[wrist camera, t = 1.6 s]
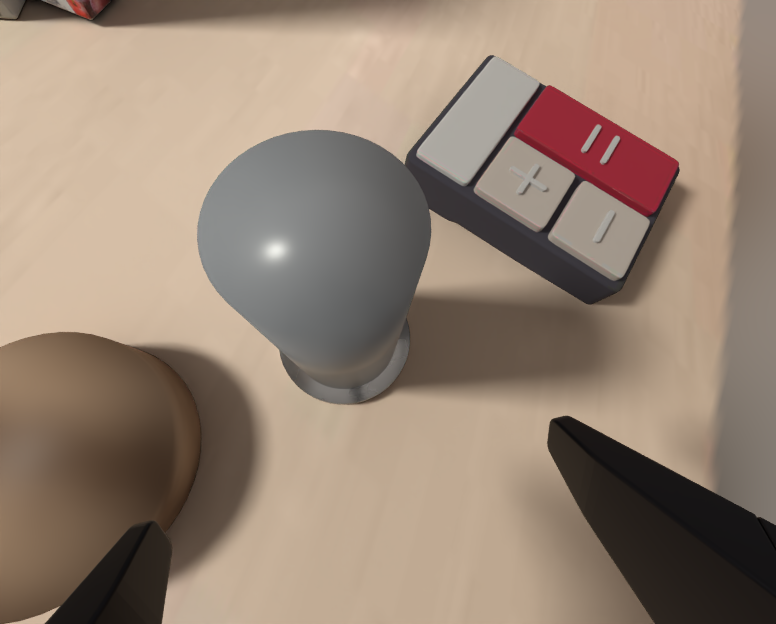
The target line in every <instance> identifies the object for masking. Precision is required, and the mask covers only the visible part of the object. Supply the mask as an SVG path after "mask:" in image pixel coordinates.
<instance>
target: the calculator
mask: <svg viewBox="0 0 776 624" xmlns="http://www.w3.org/2000/svg"><path fill="white" fill-rule="evenodd" d="M405 166H406V167H407V168H408V169H409V171H410V172H411V173H412V174H413V176H414V177H415V179H416V180H417V182H418V183H419V185H420V187H421V189H422V191H423V193H424V195H425V198H426V201H427V204H428V208H429V209H430V210H432V211H434V212H435V213H437V214H439V215H440V216H442V217H444V218H445V219H447V220H449V221H453V222H456V223H458V224H459V225H461V226H462V227H464V228H466V229H467V230H469V231H470V232H472V233H473V234H475V235H476V236H478V237H479V238H481V239H483V240H484V241H486V242H487V243H489V244H490V245H492V246H493V247H495V248H497V249H498V250H500V251H501V252H503V253H504V254H506V255H507V256H509V257H511V258H512V259H514V260H515V261H517V262H518V263H520V264H522V265H523V266H525V267H527V268H528V269H530V270H532V271H533V272H535V273H536V274H538V275H540V276H541V277H543V278H545V279H546V280H548V281H550V282H551V283H553V284H555V285H556V286H558V287H560V288H561V289H563V290H565V291H566V292H568V293H570V294H571V295H573V296H574V297H576V298H578V299H579V300H581V301H583V302H585V303H586V304H593V303H595V302H598V301H600V300H602V299H604V298H606V297H608V296H610V295H613V294H615V293H617V292H618V291H620V290H621V289H622V287H623V285H624V283H625V281H626V279H627V277H628V275H629V273H630V271H631V269H632V267H633V265H634V263H635V261H636V259H637V257H638V255H639V253H640V251H641V249H642V247H643V245H644V243H645V241H646V239H647V237H648V235H649V233H650V231H651V229H652V226H653V224H654V222H655V220H656V218H657V216H658V214H659V212H660V210H661V208H662V206H663V204H664V202H665V200H666V198H667V196H668V194H669V192H670V190H671V188H672V186H673V184H674V182H675V180H676V178H677V176H678V174H679V171H680V169H679V167H678V166H679V162H678V161H676V160H675V159H674V158H672V157H670V156H669V155H667V154H665V153H664V152H662V151H660V150H659V149H657V148H655V147H654V146H652V145H650V144H649V143H647V142H645V141H643V140H642V139H640V138H638V137H637V136H635V135H633V134H632V133H630V132H628V131H627V130H625V129H623V128H622V127H620V126H618V125H617V124H615V123H613V122H612V121H610V120H608V119H607V118H605V117H603V116H602V115H600V114H598V113H597V112H595V111H593V110H591V109H590V108H588V107H586V106H585V105H583V104H581V103H580V102H578V101H576V100H575V99H573V98H571V97H570V96H568V95H566V94H565V93H563V92H561V91H560V90H558V89H556V88H554V87H552V86H550V85H549V86H547V87H546V86H545V85H543V84H541V83H539V82H538V81H537V80H536V79H534V78H532V77H531V76H529V75H527V74H526V73H524V72H522V71H521V70H519V69H517V68H516V67H514V66H512V65H511V64H509V63H507V62H506V61H504V60H502V59H501V58H499V57H496V56H493V55H490V56H488V57H487V58H486V59H485V60H484V61H483V63H482V64H481V65H480V66H479V67H478V69H477V70H476V71H475V72H474V73H473V75H472V76H471V77H470V78H469V80H468V81H467V82H466V83H465V84H464V86H463V87H462V88H461V89H460V90H459V92H458V93H457V94H456V95H455V96H454V98H453V99H452V100H451V101H450V103H449V104H448V105H447V106H446V107H445V109H444V110H443V111H442V112H441V113H440V115H439V116H438V117H437V118H436V120H435V121H434V122H433V123H432V124H431V126H430V127H429V128H428V129H427V130H426V132H425V133H424V134H423V135H422V137H421V138H420V139H419V140H418V141H417V143H416V144H415V145H414V146H413V147H412V149H411V150H410V151H409V152H408V154H407V157H406V161H405Z"/></svg>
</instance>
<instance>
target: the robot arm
mask: <svg viewBox="0 0 776 624" xmlns="http://www.w3.org/2000/svg"><path fill="white" fill-rule="evenodd" d="M547 444H548V449H549V452H550V454H551V456H552V458H553V460H554V462H555V463H556V465H557V467H558V469H559V471H560V473H561V475H562V477H563V478H564V480H565V482H566V484H567V486H568V488H569V490H570V492H571V493H572V495H573V497H574V499H575V501H576V503H577V505H578V506H579V508H580V510H581V512H582V514H583V515H584V517H585V518H586V520H587V522H588V523H589V525H590V526H591V528H592V529H593V531H594V532H595V534H596V535H597V537H598V538H599V540H600V541H601V543H602V544H603V546H604V547H605V549H606V550H607V552H608V553H609V555H610V557H611V558H612V560H613V561H614V563H615V564H616V566H617V567H618V569H619V570H620V572H621V573H622V575H623V576H624V578H625V579H626V581H627V582H628V584H629V585H630V587H631V588H632V590H633V591H634V593H635V594H636V596H637V597H638V599H639V600H640V602H641V603H642V605H643V606H644V608H645V609H646V611H647V612H648V614H649V615H650V617H651V618H652V620H653V622H654V623H655V624H776V525H774V524H772V523H770V522H768V521H767V520H765V519H763V518H761V517H756V516H755V514H753V513H751V512H749V511H747V510H745V509H744V508H742V507H740V506H738V505H736V504H734V503H732V502H731V501H728V500H727V499H725V498H723V497H721V496H719V495H717V494H715V493H714V492H712V491H710V490H708V489H706V488H704V487H702V486H700V485H699V484H697V483H695V482H693V481H691V480H689V479H687V478H685V477H683V476H682V475H680V474H678V473H676V472H674V471H672V470H670V469H668V468H667V467H665V466H663V465H661V464H659V463H657V462H655V461H653V460H651V459H650V458H648V457H646V456H644V455H642V454H640V453H638V452H636V451H635V450H633V449H631V448H629V447H627V446H625V445H623V444H621V443H619V442H618V441H616V440H614V439H612V438H610V437H608V436H606V435H604V434H603V433H601V432H599V431H597V430H595V429H593V428H591V427H589V426H587V425H586V424H584V423H582V422H580V421H578V420H576V419H574V418H572V417H570V416H562V417H558V418H554V419H552V420H551V421H550V425H549V433H548V441H547ZM171 555H172V545H171V542H170V540H169V538H168V537H167V535H166V534H165V532H164V531H163V530H162V528H161V527H160V525H159V524H158V523H157V522H156V521H154V520H149V521H145V522H141V523H137V524H135V525H133V526H131V527H130V528H129V529H128V530H127V531H126V532H125V533H124V534H123V535H122V537H121V538H120V539H119V540H118V541H117V542H116V543H115V545H114V546H113V547H112V548H111V549H110V550H109V551H108V553H107V554H106V555H105V556H104V557H103V558H102V559H101V561H100V562H99V563H98V564H97V565H96V566H95V567H94V568H93V570H92V571H91V572H90V573H89V574H88V575H87V576H86V578H85V579H84V580H83V581H82V582H81V583H80V584H79V586H78V587H77V588H76V589H75V590H74V591H73V592H72V593H71V595H70V596H69V597H68V598H67V599H66V600H65V601H64V603H63V604H62V605H61V606H60V607H59V608H58V609H57V611H56V612H55V613H54V614H53V615H52V616H51V617H50V618H49V620H48V621H47V622H46V623H45V624H162V618H163V611H164V604H165V597H166V590H167V583H168V576H169V569H170V562H171Z"/></svg>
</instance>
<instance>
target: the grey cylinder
mask: <svg viewBox="0 0 776 624" xmlns="http://www.w3.org/2000/svg"><path fill="white" fill-rule="evenodd" d="M430 239H431V218H430V213H429V208H428V204H427V201H426V198H425V195H424V193H423V191H422V189H421V187H420V185H419V183H418V182H417V180H416V179H415V177H414V176H413V174H412V173H411V172H410V171H409V169H408V168H407V167H406V166H405V165H404V164H403V163H402V162H401V161H400V160H399V159H397V158H396V157H395V156H394V155H393V154H391V153H390V152H388V151H387V150H385V149H384V148H382V147H381V146H379V145H377V144H375V143H373V142H371V141H369V140H366V139H364V138H361V137H358V136H355V135H351V134H347V133H343V132H336V131H329V130H308V131H298V132H292V133H287V134H284V135H280V136H277V137H273V138H271V139H268V140H266V141H263V142H261V143H259V144H257V145H255V146H254V147H252V148H250V149H248V150H247V151H245V152H244V153H242V154H241V155H240V156H238V157H237V158H236V159H235V160H233V161H232V162H231V163H230V164H229V165H228V166H227V167H226V168H225V169H224V170H223V171H222V172H221V174H220V175H219V176H218V177H217V179H216V180H215V182H214V183H213V185H212V186H211V187H210V189H209V191H208V193H207V195H206V197H205V199H204V202H203V205H202V208H201V211H200V216H199V221H198V232H197V241H198V249H199V255H200V258H201V262H202V265H203V268H204V270H205V272H206V274H207V276H208V278H209V280H210V282H211V283H212V285H213V286H214V288H215V289H216V291H217V292H218V293H219V294H220V295H221V296H222V297H223V298H224V300H225V301H226V302H227V303H228V304H229V305H230V306H232V307H233V308H234V309H235V310H236V311H237V312H238V313H239V314H240V315H242V316H243V317H244V318H245V319H246V320H247V321H248V322H249V323H250V324H252V325H253V326H254V327H255V328H256V329H257V330H258V331H259V332H260V333H262V334H263V335H264V336H265V337H266V338H267V339H268V340H269V341H270V342H272V343H273V344H274V345H275V346H276V347H277V348H278V349H279V351H280V356H281V360H282V363H283V365H284V367H285V369H286V371H287V373H288V375H289V376H290V378H291V379H292V380H293V381H294V383H295V384H296V385H297V386H298V387H299V388H301V389H302V390H303V391H304V392H306V393H307V394H309V395H311V396H312V397H314V398H316V399H319V400H321V401H324V402H328V403H332V404H355V403H360V402H363V401H366V400H369V399H371V398H373V397H375V396H377V395H378V394H380V393H382V392H383V391H384V390H385V389H387V388H388V387H389V386H390V385H391V384H392V383H393V382H394V381H395V379H396V378H397V377H398V375H399V374H400V372H401V370H402V368H403V366H404V364H405V362H406V359H407V356H408V352H409V345H410V332H409V326H408V322H407V319H406V316H407V314H408V311H409V308H410V305H411V302H412V299H413V296H414V293H415V290H416V287H417V284H418V281H419V278H420V276H421V273H422V270H423V267H424V264H425V261H426V258H427V254H428V250H429V246H430Z"/></svg>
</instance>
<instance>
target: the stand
mask: <svg viewBox="0 0 776 624" xmlns="http://www.w3.org/2000/svg"><path fill="white" fill-rule="evenodd" d="M200 451H201V428H200V420H199V415H198V411H197V408H196V404H195V402H194V400H193V397H192V395H191V393H190V391H189V389H188V388H187V386H186V384H185V383H184V381H183V380H182V379H181V378H180V376H179V375H178V374H177V373H176V372H175V371H174V370H173V369H172V368H171V367H169V366H168V365H167V364H166V363H165V362H163V361H161V360H160V359H158V358H157V357H155V356H153V355H151V354H148V353H146V352H144V351H141V350H138V349H136V348H133V347H130V346H127V345H124V344H121V343H118V342H115V341H113V340H110V339H107V338H103V337H99V336H96V335H92V334H85V333H77V332H58V333H48V334H41V335H37V336H32V337H28V338H24V339H21V340H18V341H15V342H12V343H9V344H7V345H5V346H2V347H0V624H5V623H11V622H17V621H22V620H25V619H28V618H31V617H34V616H38V615H41V614H43V613H45V612H48V611H50V610H52V609H54V608H56V607H59V606H61V605H62V604H63V603H64V601H65V600H66V599H67V598H68V597H69V596H70V595H71V593H72V592H73V591H74V590H75V589H76V588H77V587H78V586H79V584H80V583H81V582H82V581H83V580H84V579H85V578H86V576H87V575H88V574H89V573H90V572H91V571H92V570H93V568H94V567H95V566H96V565H97V564H98V563H99V562H100V561H101V559H102V558H103V557H104V556H105V555H106V554H107V553H108V551H109V550H110V549H111V548H112V547H113V546H114V545H115V543H116V542H117V541H118V540H119V539H120V538H121V537H122V535H123V534H124V533H125V532H126V531H127V530H128V529H129V528H130V527H131V526H133V525H135V524H137V523H141V522H145V521H149V520H154V521H156V522H157V523H158V524H159V525H160V527H161V528H162V530H163V531H164V532H166V531H167V530H168V528H169V527H170V526H171V524H172V523H173V521H174V520H175V518H176V517H177V515H178V514H179V512H180V510H181V509H182V507H183V505H184V503H185V501H186V499H187V497H188V495H189V492H190V490H191V487H192V485H193V482H194V480H195V476H196V472H197V468H198V465H199V458H200Z"/></svg>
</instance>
